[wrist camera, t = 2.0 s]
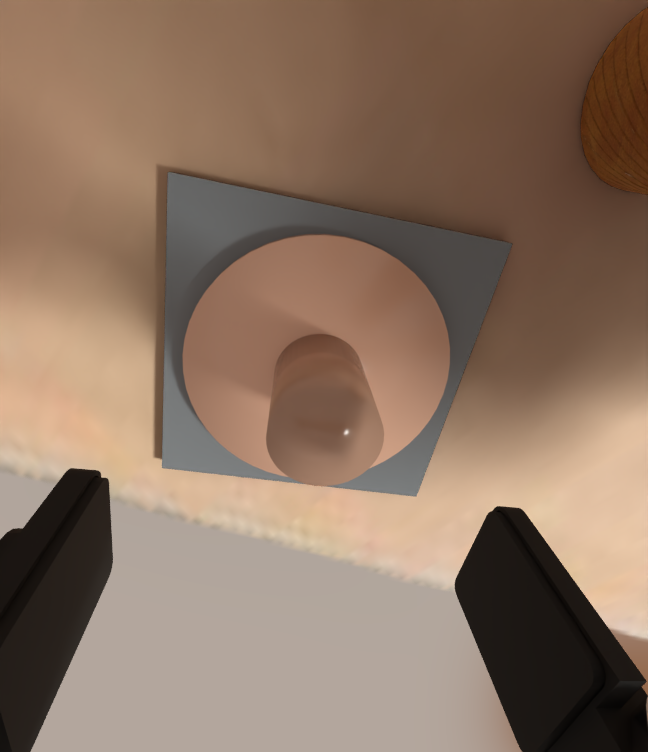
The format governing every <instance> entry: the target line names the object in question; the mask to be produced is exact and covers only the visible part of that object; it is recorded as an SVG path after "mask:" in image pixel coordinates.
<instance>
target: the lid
mask: <svg viewBox="0 0 648 752" xmlns="http://www.w3.org/2000/svg"><path fill="white" fill-rule="evenodd" d="M449 366H450V345H449V338H448V331H447V328H446V324H445V321H444V318H443V315H442V313H441V311H440V308H439V306H438V304H437V302H436V300H435V299H434V297H433V296H432V294H431V293H430V291H429V290H428V288H427V287H426V285H425V284H424V283H423V282H422V281H421V280H420V279H419V278H418V276H417V275H416V274H415V273H414V272H413V271H411V270H410V269H409V268H408V267H407V266H405V265H404V264H403V263H402V262H400V261H399V260H398V259H397V258H395V257H394V256H392V255H390V254H389V253H387V252H385V251H384V250H382V249H380V248H378V247H376V246H373V245H371V244H369V243H366V242H364V241H361V240H357V239H354V238H350V237H346V236H340V235H332V234H303V235H296V236H290V237H285V238H282V239H278V240H275V241H272V242H268V243H266V244H264V245H262V246H260V247H258V248H255V249H253V250H251V251H250V252H248V253H246V254H245V255H243V256H242V257H240V258H239V259H237V260H236V261H234V262H233V263H232V264H231V265H230V266H229V267H227V268H226V269H225V270H224V271H223V272H222V273H221V274H220V275H219V276H218V277H217V278H216V280H215V281H214V282H213V283H212V284H211V285H210V287H209V288H208V289H207V290H206V291H205V293H204V294H203V296H202V298H201V299H200V301H199V302H198V304H197V306H196V307H195V310H194V312H193V314H192V317H191V319H190V321H189V324H188V328H187V331H186V335H185V339H184V347H183V374H184V380H185V385H186V389H187V392H188V395H189V398H190V401H191V404H192V406H193V408H194V410H195V412H196V414H197V416H198V417H199V419H200V420H201V422H202V423H203V425H204V426H205V428H206V429H207V430H208V431H209V433H210V434H211V435H212V436H213V437H214V438H215V439H216V441H218V442H219V443H220V444H221V445H222V446H223V447H224V448H226V449H227V450H228V451H229V452H231V453H232V454H234V455H235V456H236V457H238V458H239V459H241V460H243V461H245V462H246V463H248V464H250V465H252V466H254V467H257V468H259V469H262V470H264V471H267V472H270V473H273V474H277V475H281V476H285V477H290V478H292V479H294V480H296V481H298V482H301V483H304V484H308V485H314V486H331V485H337V484H341V483H345V482H348V481H350V480H352V479H354V478H356V477H358V476H360V475H361V474H363V473H364V472H365V471H366V470H368V469H369V468H372V467H374V466H376V465H378V464H380V463H382V462H384V461H386V460H387V459H389V458H390V457H392V456H394V455H395V454H397V453H398V452H399V451H401V450H402V449H403V448H404V447H406V446H407V445H408V444H409V443H410V442H411V441H412V440H413V439H414V438H415V437H416V436H417V435H418V434H419V433H420V432H421V431H422V430H423V428H424V427H425V426H426V425H427V423H428V422H429V421H430V419H431V417H432V416H433V414H434V412H435V411H436V409H437V407H438V405H439V403H440V400H441V398H442V396H443V393H444V390H445V386H446V383H447V380H448V373H449Z"/></svg>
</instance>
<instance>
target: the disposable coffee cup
mask: <svg viewBox="0 0 648 752" xmlns="http://www.w3.org/2000/svg"><path fill="white" fill-rule="evenodd" d="M581 140H582V144H583V149H584V153H585V156H586V158H587V160H588V162H589V164H590V167H591V168H592V170H593V171H594V172H595V173H596V174H597V176H598V177H599V178H600V179H601V180H603V181H604V182H606V183H607V184H609V185H610V186H612V187H615V188H618V189H621V190H625V191H632V192H636V193H641V194H646V195H648V7H647V8H646V9H644V10H642V11H641V12H640V13H639V14H638V15H637V16H636V17H634V18H633V19H632V20H631V21H630V22H629V23H628V24H626V25H625V26H624V28H623V29H622V30H621V31H620V32H619V34H618V35H617V36H616V37H615V38H614V39H613V41H612V42H611V43H610V45H609V46H608V48H607V50H606V51H605V53H604V55H603V56H602V58H601V59H600V61H599V63H598V64H597V66H596V68H595V71H594V73H593V75H592V77H591V79H590V82H589V85H588V89H587V92H586V96H585V100H584V103H583V109H582V118H581Z"/></svg>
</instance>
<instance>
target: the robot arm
mask: <svg viewBox="0 0 648 752" xmlns="http://www.w3.org/2000/svg"><path fill="white" fill-rule="evenodd" d="M112 563H113V553H112V534H111V515H110V495H109V481H108V479H107V478H101V473H100V472H99V471H96V470H85V469H74V468H71V469H69V470H68V471H67V472H66V473H65V474H64V475H63V477H62V478H61V479H60V481H59V482H58V483H57V485H56V486H55V487H54V488H53V490H52V491H51V492H50V494H49V495H48V496H47V498H46V499H45V500H44V502H43V503H42V504H41V506H40V507H39V508H38V510H37V511H36V512H35V513H34V515H33V516H32V517H31V519H30V520H29V522H28V523H27V524H26V525H25V527H24V528H23V529H20V528H18V529H12V530H11V531H9V532H7V533H6V534H5V535H4V536H3V537H2V538H1V540H0V752H30V751H31V749H32V747H33V745H34V743H35V740H36V738H37V736H38V734H39V731H40V729H41V727H42V725H43V723H44V720H45V718H46V716H47V713H48V711H49V709H50V707H51V705H52V703H53V700H54V698H55V696H56V694H57V691H58V689H59V687H60V685H61V683H62V680H63V678H64V676H65V673H66V671H67V669H68V667H69V665H70V662H71V660H72V658H73V656H74V654H75V651H76V649H77V647H78V645H79V643H80V640H81V638H82V636H83V634H84V631H85V629H86V627H87V625H88V622H89V620H90V618H91V616H92V614H93V611H94V609H95V607H96V605H97V603H98V600H99V598H100V596H101V593H102V591H103V589H104V587H105V585H106V583H107V580H108V578H109V575H110V572H111V568H112ZM455 591H456V595H457V597H458V599H459V602H460V605H461V607H462V609H463V612H464V614H465V617H466V619H467V621H468V624H469V626H470V629H471V631H472V633H473V636H474V638H475V641H476V643H477V646H478V648H479V651H480V653H481V655H482V658H483V660H484V662H485V665H486V667H487V670H488V672H489V675H490V677H491V679H492V682H493V684H494V687H495V689H496V692H497V694H498V697H499V699H500V702H501V704H502V706H503V709H504V711H505V714H506V716H507V718H508V721H509V723H510V726H511V728H512V731H513V733H514V735H515V738H516V740H517V743H518V745H519V747H520V749H521V750H522V752H648V695H647V694H646V693H645V691H644V690H643V688H642V686H643V685H644V684H645V683H646V680H645V679H644V677H643V676H642V674H641V673H640V671H639V670H638V669H637V667H636V666H635V665H634V663H633V662H632V660H631V659H630V658H629V656H628V655H627V653H626V652H625V651H624V649H623V648H622V647H621V645H620V644H619V642H618V641H617V640H616V638H615V637H614V635H613V634H612V633H611V631H610V630H609V628H608V627H607V626H606V624H605V623H604V622H603V620H602V619H601V617H600V616H599V615H598V613H597V612H596V610H595V609H594V608H593V606H592V605H591V604H590V602H589V601H588V599H587V598H586V597H585V595H584V594H583V592H582V591H581V590H580V588H579V587H578V586H577V584H576V583H575V581H574V580H573V579H572V577H571V576H570V574H569V573H568V572H567V570H566V569H565V568H564V566H563V565H562V563H561V562H560V561H559V559H558V558H557V556H556V555H555V554H554V552H553V551H552V550H551V548H550V547H549V545H548V544H547V543H546V541H545V540H544V538H543V537H542V536H541V534H540V533H539V532H538V530H537V529H536V527H535V526H534V525H533V523H532V522H531V520H530V519H529V518H528V516H527V515H526V514H525V512H524V511H523V510H522V509H520V508H512V507H501V506H497V507H496V508H494V510H493V511H492V512H489V513H488V515H487V516H486V518H485V521H484V523H483V525H482V527H481V529H480V531H479V533H478V535H477V537H476V539H475V541H474V543H473V545H472V547H471V549H470V551H469V553H468V555H467V557H466V559H465V561H464V563H463V565H462V567H461V569H460V571H459V573H458V576H457V578H456V580H455Z"/></svg>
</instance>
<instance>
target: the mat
mask: <svg viewBox="0 0 648 752" xmlns="http://www.w3.org/2000/svg"><path fill="white" fill-rule="evenodd" d="M303 234H332V235H340V236H346V237H350V238H354V239H357V240H361V241H364V242H366V243H369V244H371V245H373V246H376V247H378V248H380V249H382V250H384V251H385V252H387V253H389V254H390V255H392V256H394V257H395V258H397V259H398V260H399V261H400V262H402V263H403V264H404V265H405V266H407V267H408V268H409V269H410V270H411V271H413V272H414V273H415V274H416V275H417V276H418V278H419V279H420V280H421V281H422V282H423V283H424V284H425V285H426V287H427V288H428V290H429V291H430V293H431V294H432V296H433V297H434V299H435V300H436V302H437V304H438V306H439V308H440V311H441V313H442V315H443V318H444V321H445V324H446V328H447V331H448V338H449V345H450V366H449V373H448V380H447V383H446V386H445V390H444V393H443V396H442V398H441V400H440V403H439V405H438V407H437V409H436V411H435V412H434V414H433V416H432V417H431V419H430V421H429V422H428V423H427V425H426V426H425V427H424V428H423V430H422V431H421V432H420V433H419V434H418V435H417V436H416V437H415V438H414V439H413V440H412V441H411V442H410V443H409V444H408V445H407V446H406V447H404V448H403V449H402V450H401V451H399V452H398V453H397V454H395V455H394V456H392V457H390V458H389V459H387V460H386V461H384V462H382V463H380V464H378V465H376V466H374V467H372V468H369V469H368V470H366V471H365V472H364V473H363V474H361V475H360V476H358V477H356V478H354V479H352V480H350V481H348V482H345V483H341V484H337V485H331V486H327V487H336V488H345V489H353V490H362V491H371V492H380V493H389V494H398V495H407V496H417V493H418V491H419V488H420V485H421V483H422V480H423V478H424V475H425V472H426V470H427V467H428V464H429V462H430V459H431V457H432V454H433V451H434V449H435V446H436V443H437V441H438V438H439V436H440V433H441V430H442V428H443V425H444V423H445V420H446V417H447V415H448V412H449V409H450V407H451V404H452V402H453V399H454V396H455V394H456V391H457V388H458V386H459V383H460V381H461V378H462V375H463V373H464V370H465V367H466V365H467V362H468V360H469V357H470V354H471V352H472V349H473V346H474V344H475V341H476V339H477V336H478V333H479V331H480V328H481V326H482V323H483V320H484V318H485V315H486V312H487V310H488V307H489V305H490V302H491V299H492V297H493V294H494V291H495V289H496V286H497V284H498V281H499V278H500V276H501V273H502V270H503V268H504V265H505V263H506V260H507V257H508V255H509V252H510V250H511V247H512V243H508V242H504V241H499V240H495V239H490V238H485V237H480V236H475V235H471V234H466V233H461V232H456V231H451V230H447V229H442V228H437V227H432V226H427V225H423V224H418V223H413V222H408V221H403V220H399V219H394V218H389V217H384V216H379V215H375V214H370V213H365V212H360V211H356V210H351V209H346V208H341V207H336V206H332V205H327V204H322V203H317V202H312V201H308V200H303V199H298V198H293V197H288V196H284V195H279V194H274V193H269V192H264V191H260V190H255V189H250V188H245V187H240V186H236V185H231V184H226V183H221V182H216V181H212V180H207V179H202V178H197V177H193V176H188V175H183V174H178V173H173V172H168V185H167V236H166V287H165V338H164V390H163V441H162V468H167V469H175V470H184V471H193V472H202V473H211V474H220V475H229V476H238V477H247V478H256V479H264V480H273V481H282V482H291V483H300V484H304V483H301V482H298V481H296V480H294V479H292V478H290V477H285V476H281V475H277V474H273V473H270V472H267V471H264V470H262V469H259V468H257V467H254V466H252V465H250V464H248V463H246V462H245V461H243V460H241V459H239V458H238V457H236V456H235V455H234V454H232V453H231V452H229V451H228V450H227V449H226V448H224V447H223V446H222V445H221V444H220V443H219V442H218V441H216V439H215V438H214V437H213V436H212V435H211V434H210V433H209V431H208V430H207V429H206V428H205V426H204V425H203V423H202V422H201V420H200V419H199V417H198V416H197V414H196V412H195V410H194V408H193V406H192V404H191V401H190V398H189V395H188V392H187V389H186V385H185V380H184V374H183V347H184V339H185V335H186V331H187V328H188V324H189V321H190V319H191V317H192V314H193V312H194V310H195V307H196V306H197V304H198V302H199V301H200V299H201V298H202V296H203V294H204V293H205V291H206V290H207V289H208V288H209V287H210V285H211V284H212V283H213V282H214V281H215V280H216V278H217V277H218V276H219V275H220V274H221V273H222V272H223V271H224V270H225V269H226V268H227V267H229V266H230V265H231V264H232V263H233V262H234V261H236V260H237V259H239V258H240V257H242V256H243V255H245V254H246V253H248V252H250V251H251V250H253V249H255V248H258V247H260V246H262V245H264V244H266V243H268V242H272V241H275V240H278V239H282V238H285V237H290V236H296V235H303Z"/></svg>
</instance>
